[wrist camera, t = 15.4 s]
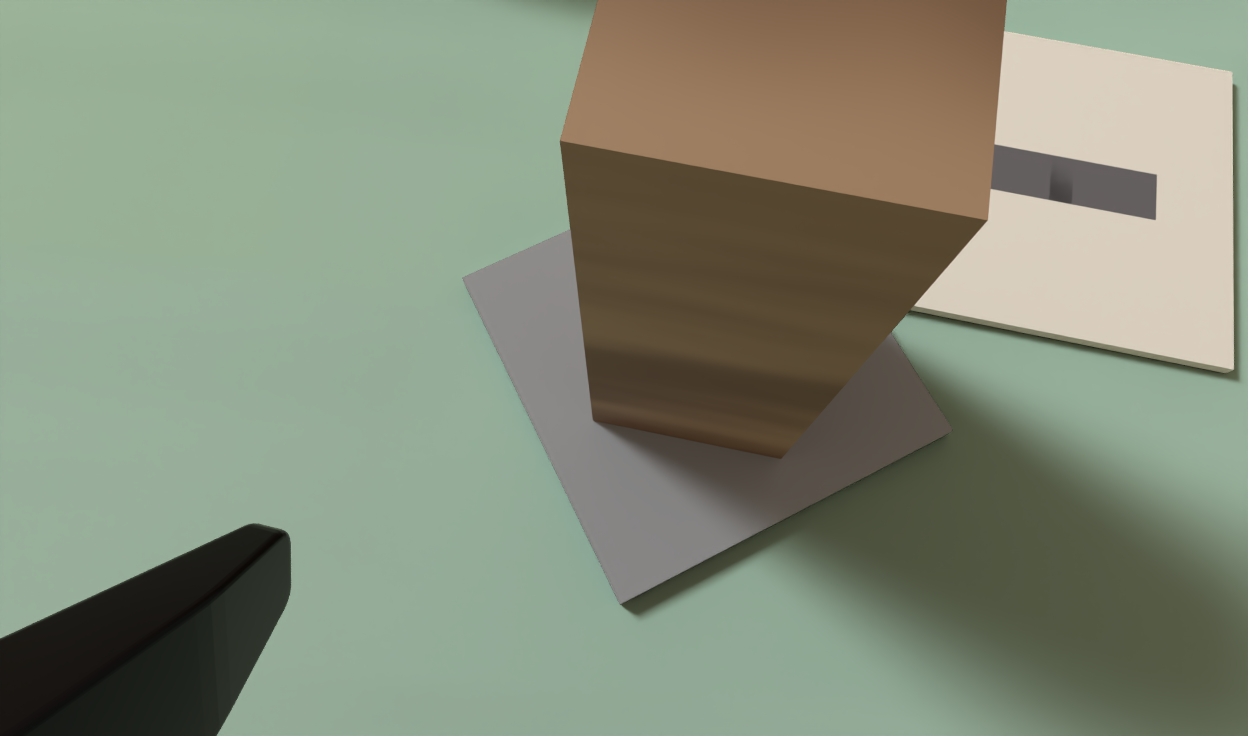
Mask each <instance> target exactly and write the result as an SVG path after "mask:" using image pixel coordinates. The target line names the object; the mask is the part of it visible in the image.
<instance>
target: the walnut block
mask: <svg viewBox="0 0 1248 736" xmlns="http://www.w3.org/2000/svg"><path fill="white" fill-rule="evenodd" d="M1006 3H1007V0H598V1H597V5H596V9H595V12H594V16H593V20H592V23H591V27H590V31H589V35H588V38H587V42H586V46H585V49H584V53H583V57H582V61H581V64H580V68H579V72H578V76H577V79H576V83H575V87H574V90H573V94H572V98H571V102H570V105H569V109H568V113H567V116H566V120H565V124H564V128H563V131H562V135H561V139H560V145H561V154H562V162H563V171H564V179H565V188H566V196H567V205H568V213H569V222H570V231H571V239H572V248H573V256H574V265H575V273H576V282H577V290H578V299H579V307H580V316H581V324H582V333H583V341H584V350H585V358H586V367H587V375H588V384H589V392H590V401H591V410H592V418H593V421H598V422H603V423H608V424H612V425H617V426H622V427H627V428H632V429H637V430H642V431H647V432H651V433H656V434H661V435H666V436H671V437H676V438H681V439H686V440H690V441H695V442H700V443H705V444H710V445H715V446H720V447H725V448H729V449H734V450H739V451H744V452H749V453H754V454H759V455H764V456H768V457H773V458H778V459H782V457H783V456H784V455H785V454H786V453H787V452H788V450H789V449H790V448H791V447H792V446H793V445H794V444H795V442H796V441H797V440H798V439H799V438H800V437H801V435H802V434H803V433H804V432H805V431H806V430H807V429H808V427H809V426H810V425H811V424H812V423H813V422H814V420H815V419H816V418H817V417H818V416H819V415H820V414H821V412H822V411H823V410H824V409H825V408H826V407H827V405H828V404H829V403H830V402H831V401H832V400H833V399H834V397H835V396H836V395H837V394H838V393H839V392H840V390H841V389H842V388H843V387H844V386H845V385H846V384H847V382H848V381H849V380H850V379H851V378H852V377H853V375H854V374H855V373H856V372H857V371H858V370H859V369H860V367H861V366H862V365H863V364H864V363H865V362H866V360H867V359H868V358H869V357H870V356H871V355H872V354H873V352H874V351H875V350H876V349H877V348H878V347H879V345H880V344H881V343H882V342H883V341H884V340H885V339H886V337H887V336H888V335H889V334H890V333H891V332H892V330H893V329H894V328H895V327H896V326H897V325H898V324H899V322H900V321H901V320H902V319H903V318H904V317H905V315H906V314H907V313H908V312H909V311H910V310H911V308H912V307H913V306H914V305H915V304H916V303H917V302H918V300H919V299H920V298H921V297H922V296H923V295H924V293H925V292H926V291H927V290H928V289H929V288H930V287H931V285H932V284H933V283H934V282H935V281H936V280H937V278H938V277H939V276H940V275H941V274H942V273H943V272H944V270H945V269H946V268H947V267H948V266H949V265H950V263H951V262H952V261H953V260H954V259H955V258H956V257H957V255H958V254H959V253H960V252H961V251H962V250H963V248H964V247H965V246H966V245H967V244H968V243H969V242H970V240H971V239H972V238H973V237H974V236H975V235H976V233H977V232H978V231H979V230H980V229H981V228H982V227H983V225H984V224H985V223H986V222H987V221H988V214H989V202H990V190H991V178H992V167H993V155H994V143H995V132H996V120H997V108H998V97H999V85H1000V73H1001V62H1002V50H1003V38H1004V27H1005V15H1006Z"/></svg>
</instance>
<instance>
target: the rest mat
mask: <svg viewBox="0 0 1248 736" xmlns="http://www.w3.org/2000/svg"><path fill="white" fill-rule="evenodd" d="M462 279H463V281H464V283H465V286H466V288H467V290H468V292H469V294H470V296H471V298H472V300H473V302H474V304H475V306H476V308H477V310H478V312H479V314H480V317H481V319H482V321H483V323H484V325H485V327H486V329H487V331H488V333H489V335H490V337H491V339H492V341H493V343H494V345H495V347H496V350H497V352H498V354H499V356H500V358H501V360H502V362H503V364H504V366H505V368H506V370H507V372H508V374H509V376H510V378H511V381H512V383H513V385H514V387H515V389H516V391H517V393H518V395H519V397H520V399H521V401H522V403H523V405H524V407H525V409H526V412H527V414H528V416H529V418H530V420H531V422H532V424H533V426H534V428H535V430H536V432H537V434H538V436H539V438H540V440H541V443H542V445H543V447H544V449H545V451H546V453H547V455H548V457H549V459H550V461H551V463H552V465H553V467H554V469H555V471H556V473H557V476H558V478H559V480H560V482H561V484H562V486H563V488H564V490H565V492H566V494H567V496H568V498H569V500H570V502H571V504H572V507H573V509H574V511H575V513H576V515H577V517H578V519H579V521H580V523H581V525H582V527H583V529H584V531H585V533H586V535H587V538H588V540H589V542H590V544H591V546H592V548H593V550H594V552H595V554H596V556H597V558H598V560H599V562H600V564H601V566H602V569H603V571H604V573H605V575H606V577H607V579H608V581H609V583H610V585H611V587H612V589H613V591H614V593H615V595H616V597H617V599H618V602H619V604H620V605H621V604H623V603H625V602H627V601H629V600H631V599H633V598H634V597H636V596H638V595H640V594H642V593H644V592H646V591H648V590H650V589H652V588H654V587H656V586H657V585H659V584H661V583H663V582H665V581H667V580H669V579H671V578H673V577H675V576H677V575H679V574H680V573H682V572H684V571H686V570H688V569H690V568H692V567H694V566H696V565H698V564H700V563H702V562H703V561H705V560H707V559H709V558H711V557H713V556H715V555H717V554H719V553H721V552H723V551H725V550H726V549H728V548H730V547H732V546H734V545H736V544H738V543H740V542H742V541H744V540H746V539H748V538H750V537H751V536H753V535H755V534H757V533H759V532H761V531H763V530H765V529H767V528H769V527H771V526H773V525H774V524H776V523H778V522H780V521H782V520H784V519H786V518H788V517H790V516H792V515H794V514H796V513H797V512H799V511H801V510H803V509H805V508H807V507H809V506H811V505H813V504H815V503H817V502H819V501H820V500H822V499H824V498H826V497H828V496H830V495H832V494H834V493H836V492H838V491H840V490H842V489H843V488H845V487H847V486H849V485H851V484H853V483H855V482H857V481H859V480H861V479H863V478H865V477H866V476H868V475H870V474H872V473H874V472H876V471H878V470H880V469H882V468H884V467H886V466H888V465H889V464H891V463H893V462H895V461H897V460H899V459H901V458H903V457H905V456H907V455H909V454H911V453H913V452H914V451H916V450H918V449H920V448H922V447H924V446H926V445H928V444H930V443H932V442H934V441H936V440H937V439H939V438H941V437H943V436H945V435H947V434H949V433H950V432H952V431H953V429H952V428H951V426H950V424H949V423H948V421H947V420H946V418H945V417H944V415H943V414H942V412H941V410H940V409H939V407H938V406H937V404H936V403H935V401H934V399H933V398H932V396H931V395H930V393H929V392H928V390H927V388H926V387H925V385H924V384H923V382H922V381H921V379H920V378H919V376H918V374H917V373H916V371H915V370H914V368H913V367H912V365H911V363H910V362H909V360H908V359H907V357H906V356H905V354H904V352H903V351H902V349H901V348H900V346H899V345H898V343H897V342H896V340H895V338H894V337H893V335H892V334H891V333H890V334H889V335H888V336H887V337H886V339H885V340H884V341H883V342H882V343H881V344H880V345H879V347H878V348H877V349H876V350H875V351H874V352H873V354H872V355H871V356H870V357H869V358H868V359H867V360H866V362H865V363H864V364H863V365H862V366H861V367H860V369H859V370H858V371H857V372H856V373H855V374H854V375H853V377H852V378H851V379H850V380H849V381H848V382H847V384H846V385H845V386H844V387H843V388H842V389H841V390H840V392H839V393H838V394H837V395H836V396H835V397H834V399H833V400H832V401H831V402H830V403H829V404H828V405H827V407H826V408H825V409H824V410H823V411H822V412H821V414H820V415H819V416H818V417H817V418H816V419H815V420H814V422H813V423H812V424H811V425H810V426H809V427H808V429H807V430H806V431H805V432H804V433H803V434H802V435H801V437H800V438H799V439H798V440H797V441H796V442H795V444H794V445H793V446H792V447H791V448H790V449H789V450H788V452H787V453H786V454H785V455H784V456H783V457H782V459H778V458H773V457H768V456H764V455H759V454H754V453H749V452H744V451H739V450H734V449H729V448H725V447H720V446H715V445H710V444H705V443H700V442H695V441H690V440H686V439H681V438H676V437H671V436H666V435H661V434H656V433H651V432H647V431H642V430H637V429H632V428H627V427H622V426H617V425H612V424H608V423H603V422H598V421H593V418H592V410H591V401H590V392H589V384H588V375H587V367H586V358H585V350H584V341H583V333H582V324H581V316H580V307H579V299H578V290H577V282H576V273H575V265H574V256H573V248H572V239H571V231H570V230H568V231H565V232H563V233H561V234H559V235H557V236H554V237H552V238H550V239H548V240H545V241H543V242H541V243H539V244H536V245H534V246H532V247H530V248H527V249H525V250H523V251H521V252H518V253H516V254H514V255H512V256H509V257H507V258H505V259H503V260H500V261H498V262H496V263H494V264H492V265H489V266H487V267H485V268H483V269H480V270H478V271H476V272H474V273H471V274H469V275H467V276H465V277H462Z"/></svg>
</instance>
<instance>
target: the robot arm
mask: <svg viewBox="0 0 1248 736" xmlns="http://www.w3.org/2000/svg"><path fill="white" fill-rule="evenodd" d="M290 590H291V542H290V537H289V535H288V533H287V532H286V531H284V530H282V529H278V528H274V527H270V526H266V525H262V524H256V523H253V524H248V525H245V526H243V527H241V528H239V529H237V530H234V531H232V532H230V533H228V534H226V535H224V536H221V537H219V538H217V539H215V540H213V541H211V542H208V543H206V544H204V545H202V546H200V547H198V548H195V549H193V550H191V551H189V552H187V553H185V554H182V555H180V556H178V557H176V558H174V559H172V560H169V561H167V562H165V563H163V564H161V565H159V566H156V567H154V568H152V569H150V570H148V571H146V572H143V573H141V574H139V575H137V576H135V577H133V578H130V579H128V580H126V581H124V582H122V583H120V584H117V585H115V586H113V587H111V588H109V589H107V590H104V591H102V592H100V593H98V594H96V595H94V596H91V597H89V598H87V599H85V600H83V601H81V602H78V603H76V604H74V605H72V606H70V607H68V608H66V609H63V610H61V611H59V612H57V613H55V614H53V615H50V616H48V617H46V618H44V619H42V620H40V621H37V622H35V623H33V624H31V625H29V626H27V627H24V628H22V629H20V630H18V631H16V632H14V633H11V634H9V635H7V636H5V637H3V638H1V639H0V736H217V734H218V732H219V731H220V729H221V727H222V726H223V724H224V722H225V720H226V718H227V717H228V715H229V713H230V711H231V709H232V708H233V706H234V704H235V702H236V700H237V698H238V696H239V694H240V692H241V690H242V689H243V687H244V685H245V683H246V681H247V679H248V677H249V675H250V673H251V672H252V670H253V668H254V666H255V664H256V662H257V660H258V658H259V656H260V654H261V653H262V651H263V649H264V647H265V645H266V643H267V641H268V639H269V637H270V636H271V634H272V632H273V630H274V628H275V626H276V624H277V622H278V620H279V618H280V617H281V615H282V613H283V611H284V609H285V607H286V604H287V602H288V599H289V595H290Z"/></svg>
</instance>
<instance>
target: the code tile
mask: <svg viewBox="0 0 1248 736" xmlns="http://www.w3.org/2000/svg"><path fill="white" fill-rule="evenodd" d="M911 310H912V311H917V312H922V313H927V314H932V315H937V316H942V317H947V318H952V319H957V320H962V321H967V322H972V323H977V324H982V325H987V326H992V327H997V328H1002V329H1007V330H1012V331H1017V332H1022V333H1027V334H1032V335H1037V336H1042V337H1047V338H1052V339H1057V340H1062V341H1067V342H1072V343H1077V344H1082V345H1087V346H1092V347H1097V348H1102V349H1107V350H1112V351H1117V352H1122V353H1127V354H1132V355H1137V356H1142V357H1147V358H1152V359H1157V360H1162V361H1167V362H1172V363H1177V364H1182V365H1187V366H1192V367H1197V368H1202V369H1207V370H1212V371H1217V372H1222V373H1228V372H1230V371H1232V370H1234V294H1233V110H1232V72H1230V71H1224V70H1219V69H1213V68H1208V67H1202V66H1196V65H1191V64H1185V63H1180V62H1174V61H1168V60H1163V59H1157V58H1152V57H1146V56H1140V55H1135V54H1129V53H1124V52H1118V51H1112V50H1107V49H1101V48H1096V47H1090V46H1085V45H1079V44H1073V43H1068V42H1062V41H1057V40H1051V39H1045V38H1040V37H1034V36H1029V35H1023V34H1017V33H1012V32H1006V31H1004V38H1003V50H1002V62H1001V73H1000V85H999V97H998V108H997V120H996V132H995V143H994V155H993V167H992V178H991V190H990V202H989V214H988V221H987V222H986V223H985V224H984V225H983V227H982V228H981V229H980V230H979V231H978V232H977V233H976V235H975V236H974V237H973V238H972V239H971V240H970V242H969V243H968V244H967V245H966V246H965V247H964V248H963V250H962V251H961V252H960V253H959V254H958V255H957V257H956V258H955V259H954V260H953V261H952V262H951V263H950V265H949V266H948V267H947V268H946V269H945V270H944V272H943V273H942V274H941V275H940V276H939V277H938V278H937V280H936V281H935V282H934V283H933V284H932V285H931V287H930V288H929V289H928V290H927V291H926V292H925V293H924V295H923V296H922V297H921V298H920V299H919V300H918V302H917V303H916V304H915V305H914V306H913V307H912V308H911Z"/></svg>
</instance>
